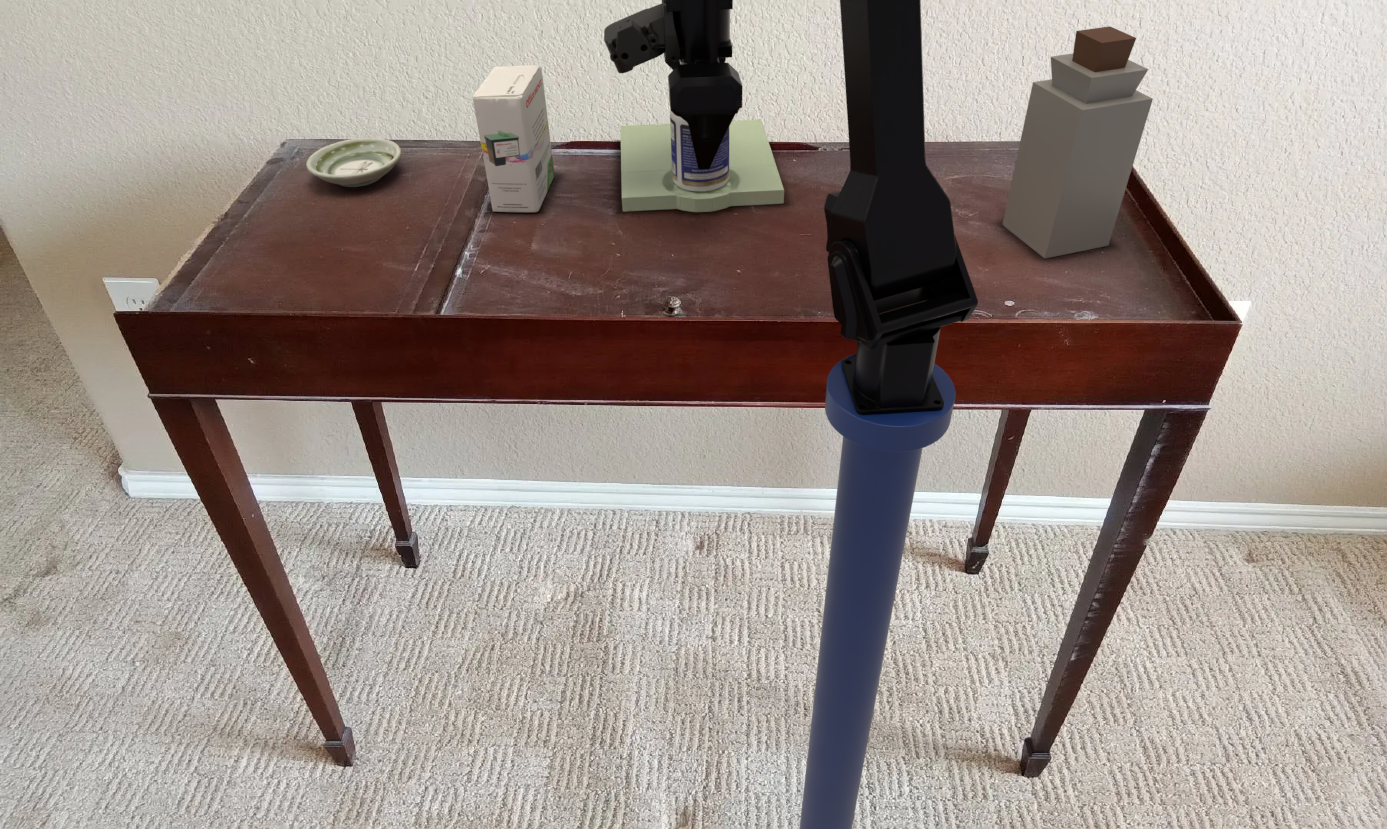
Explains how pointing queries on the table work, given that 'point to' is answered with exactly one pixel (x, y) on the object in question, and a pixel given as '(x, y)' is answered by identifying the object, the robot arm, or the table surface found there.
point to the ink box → (515, 137)
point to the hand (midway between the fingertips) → (700, 148)
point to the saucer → (354, 161)
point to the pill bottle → (686, 164)
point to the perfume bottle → (1078, 146)
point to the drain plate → (656, 190)
